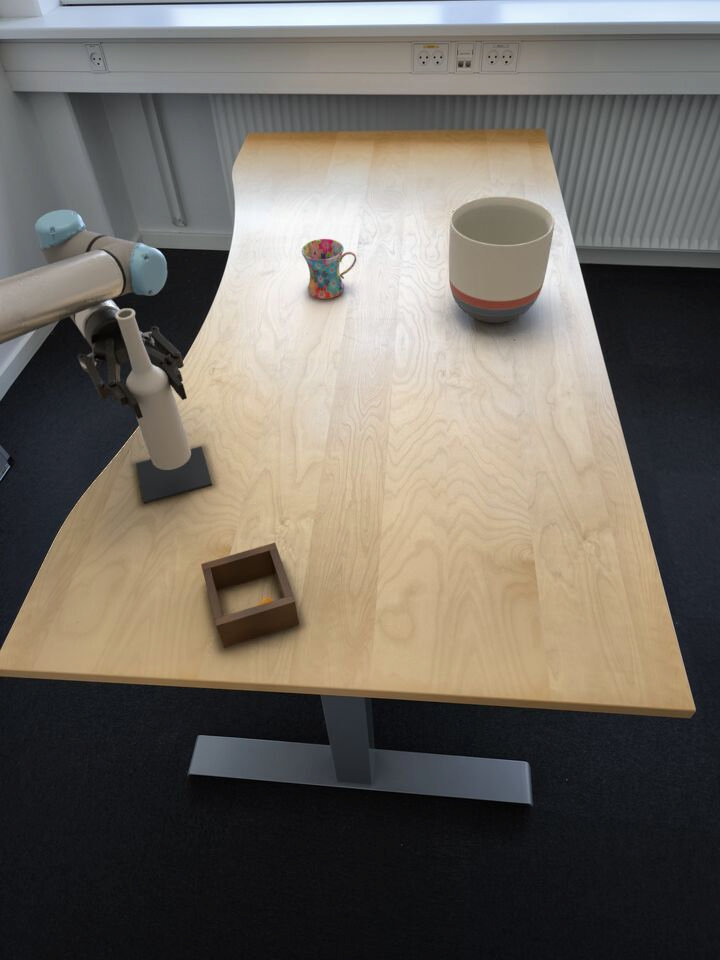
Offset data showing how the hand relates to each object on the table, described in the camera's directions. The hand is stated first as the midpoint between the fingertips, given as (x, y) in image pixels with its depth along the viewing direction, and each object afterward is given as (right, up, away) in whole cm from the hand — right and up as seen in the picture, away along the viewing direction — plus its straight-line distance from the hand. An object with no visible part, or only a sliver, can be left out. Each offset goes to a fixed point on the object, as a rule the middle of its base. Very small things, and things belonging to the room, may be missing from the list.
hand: (160, 401), depth 108 cm
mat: (-4, -11, +22) cm, 25 cm away
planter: (+59, +25, +52) cm, 82 cm away
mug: (+23, +32, +61) cm, 73 cm away
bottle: (-2, -8, +14) cm, 16 cm away
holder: (+13, -31, +2) cm, 33 cm away
